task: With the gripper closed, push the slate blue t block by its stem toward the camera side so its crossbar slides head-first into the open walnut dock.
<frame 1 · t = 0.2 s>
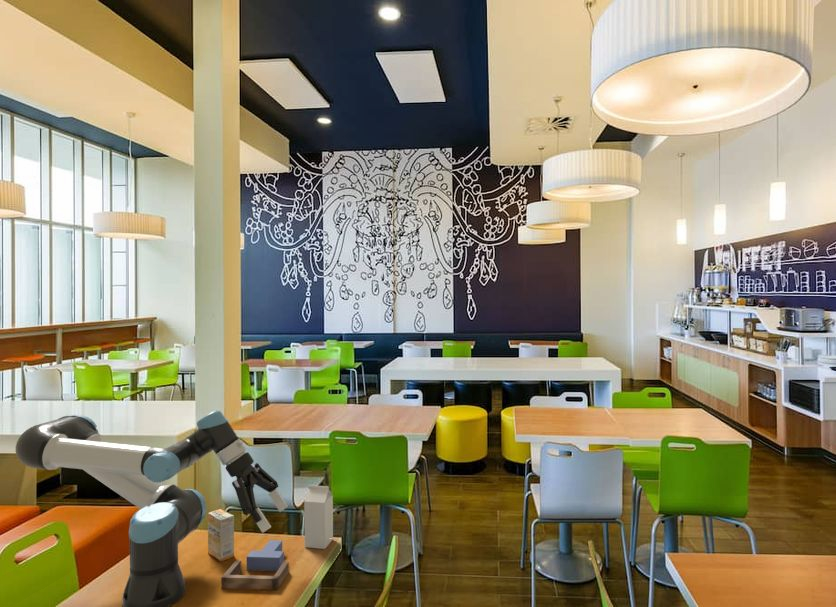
hand: (275, 519, 150), 16 cm above the table, tool tilted 35°, fingers open, 13 cm apart
walnut dock: (257, 578, 147), on the table
milk carton: (319, 544, 169), on the table
slate blue t block: (270, 560, 158), on the table
supplement box: (220, 555, 162), on the table
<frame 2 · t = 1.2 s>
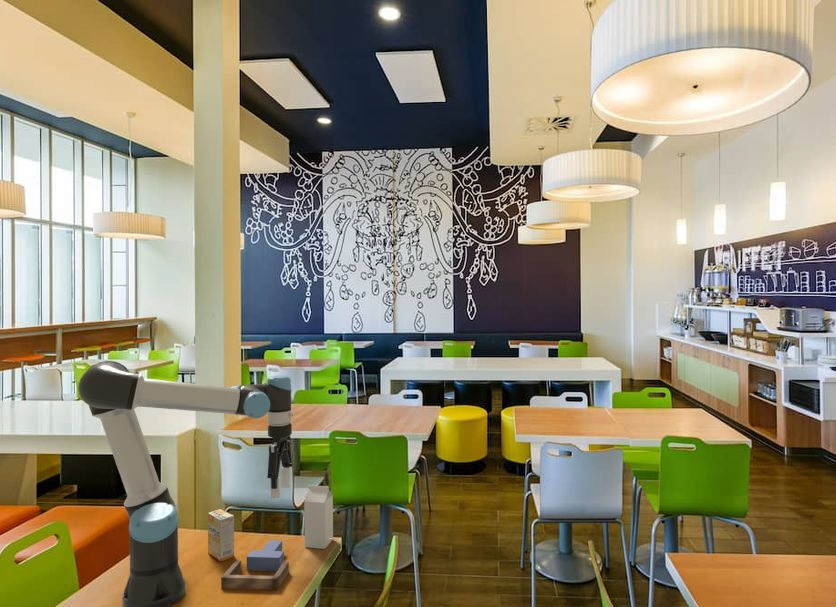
hand: (280, 492, 167), 18 cm above the table, tool pointing down, fingers open, 9 cm apart
nothing on the table moved.
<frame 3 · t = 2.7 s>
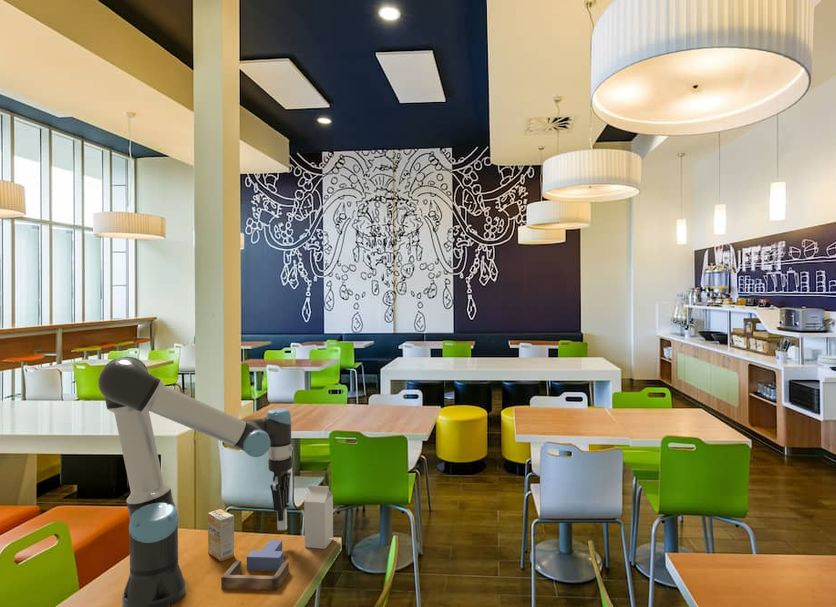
hand: (282, 528, 167), 6 cm above the table, tool pointing down, fingers closed
nothing on the table moved.
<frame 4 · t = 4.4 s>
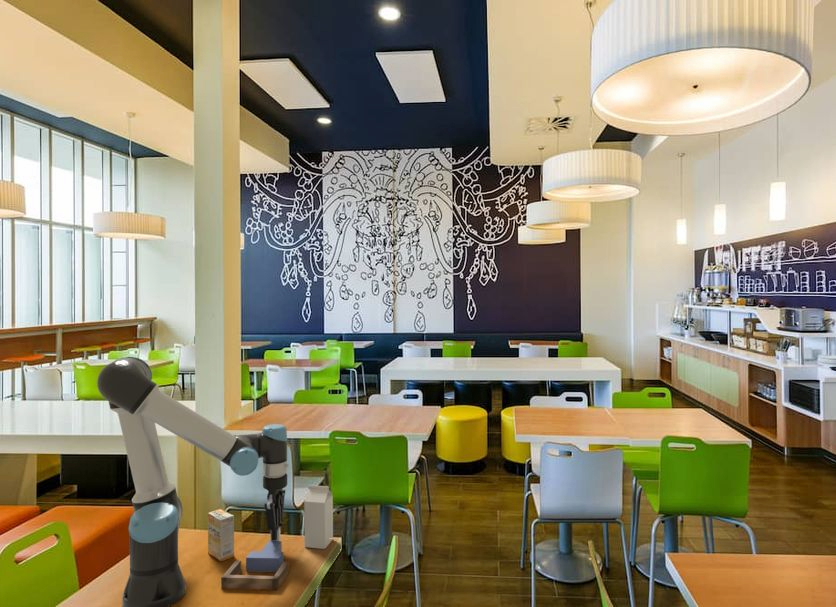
hand: (275, 548, 163), 1 cm above the table, tool pointing down, fingers closed
slate blue t block: (269, 561, 157), on the table, touching gripper
everything else where it was.
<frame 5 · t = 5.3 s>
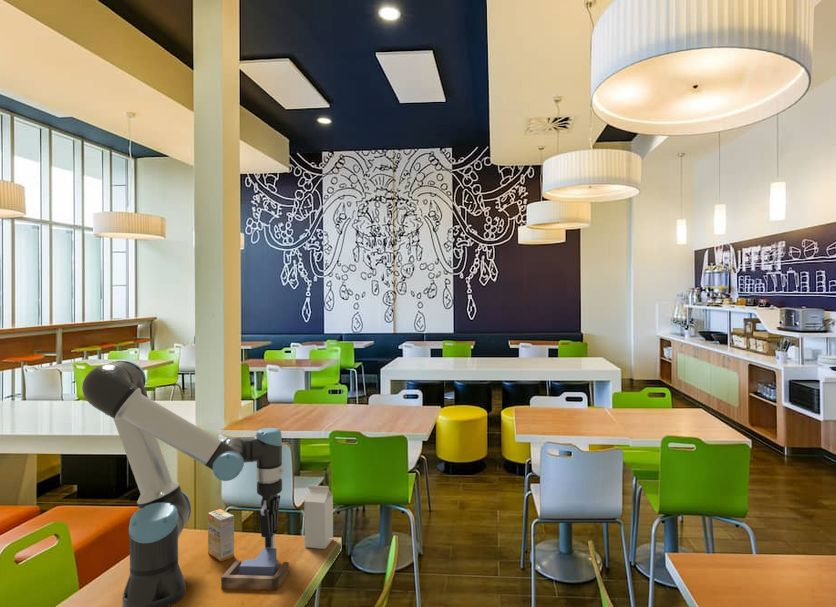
hand: (269, 555, 158), 1 cm above the table, tool pointing down, fingers closed
slate blue t block: (264, 569, 152), on the table, touching gripper
everything else where it was.
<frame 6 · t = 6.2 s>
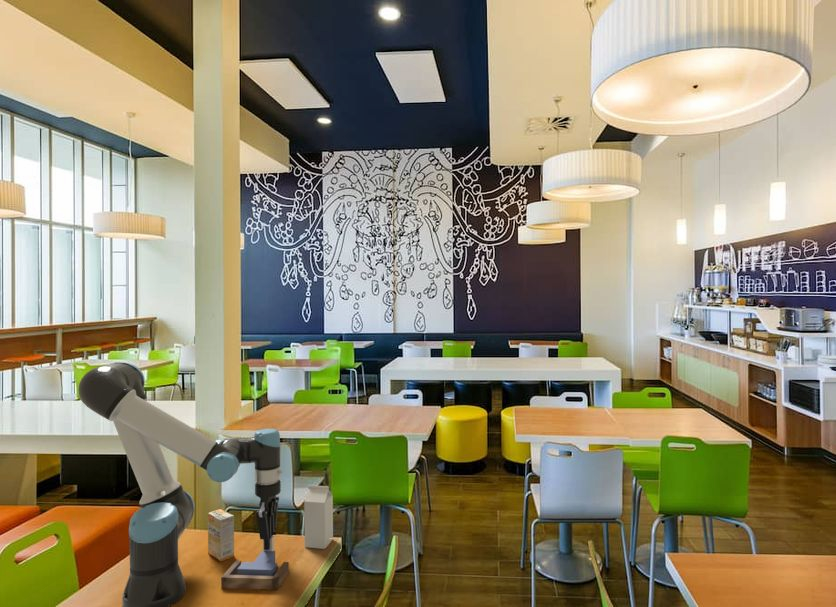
hand: (268, 558, 156), 1 cm above the table, tool pointing down, fingers closed
slate blue t block: (262, 572, 151), on the table, touching gripper
everything else where it was.
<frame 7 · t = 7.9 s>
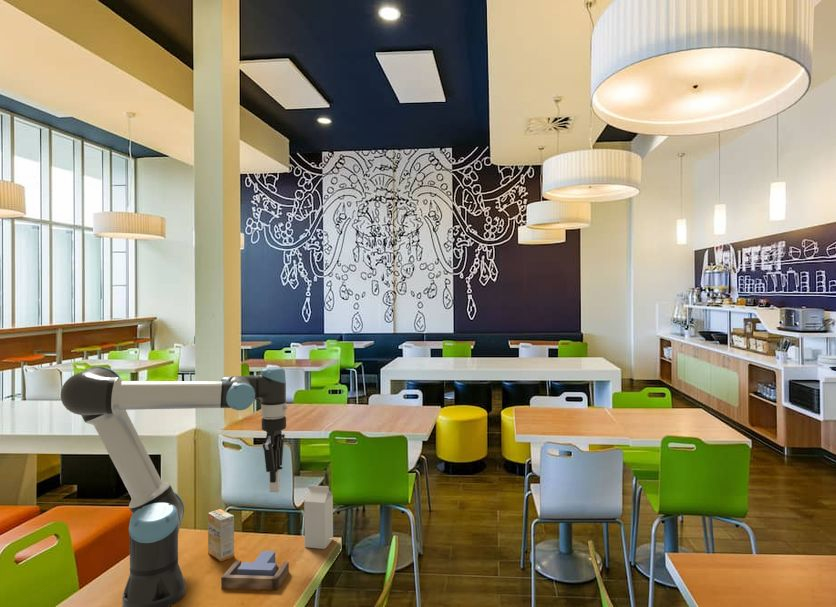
hand: (274, 491, 162), 20 cm above the table, tool pointing down, fingers closed
slate blue t block: (262, 572, 151), on the table
everything else where it was.
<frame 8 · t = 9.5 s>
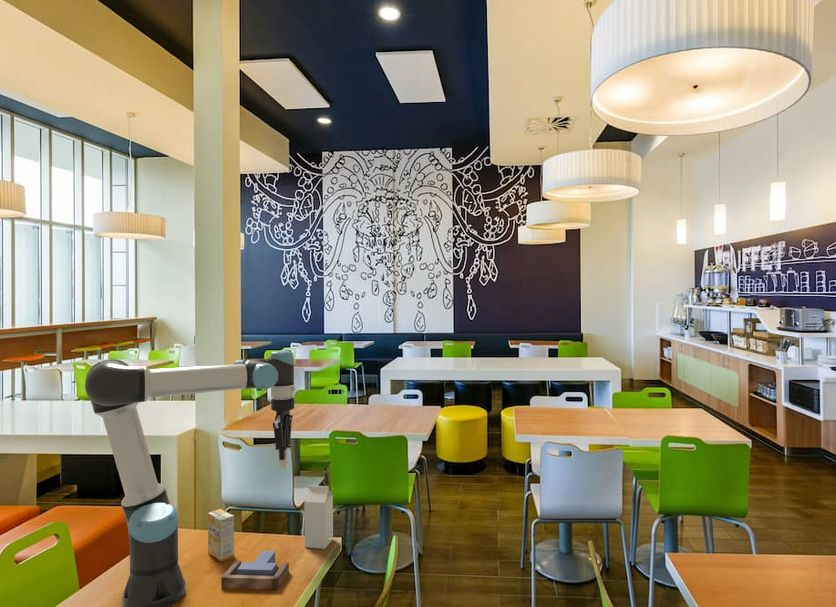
hand: (283, 468, 170), 24 cm above the table, tool pointing down, fingers closed
nothing on the table moved.
at the end: slate blue t block 1.0 cm from the target spot, on the table; slate blue t block tilted 0°; slate blue t block moved 7.2 cm from its start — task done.
